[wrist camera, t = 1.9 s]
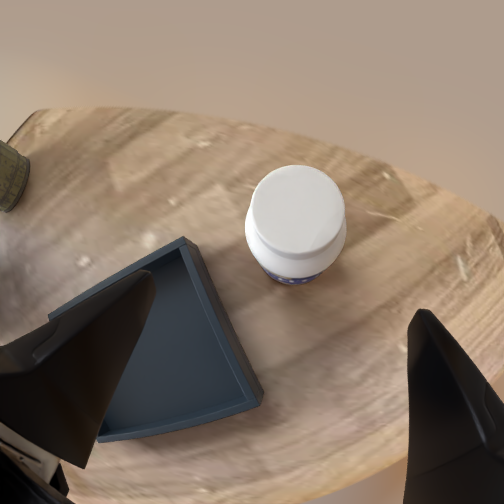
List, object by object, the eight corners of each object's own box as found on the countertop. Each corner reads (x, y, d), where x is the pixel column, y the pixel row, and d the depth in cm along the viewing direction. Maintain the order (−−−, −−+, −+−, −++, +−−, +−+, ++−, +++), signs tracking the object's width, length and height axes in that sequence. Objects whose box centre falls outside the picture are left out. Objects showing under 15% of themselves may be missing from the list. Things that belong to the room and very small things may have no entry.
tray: (264, 392, 18) (260, 405, 15) (115, 433, 19) (98, 443, 16) (196, 244, 21) (183, 235, 18) (67, 315, 21) (47, 314, 19)
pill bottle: (256, 284, 19) (228, 269, 11) (259, 214, 20) (236, 152, 12) (330, 286, 19) (362, 271, 10) (329, 214, 20) (354, 153, 11)
